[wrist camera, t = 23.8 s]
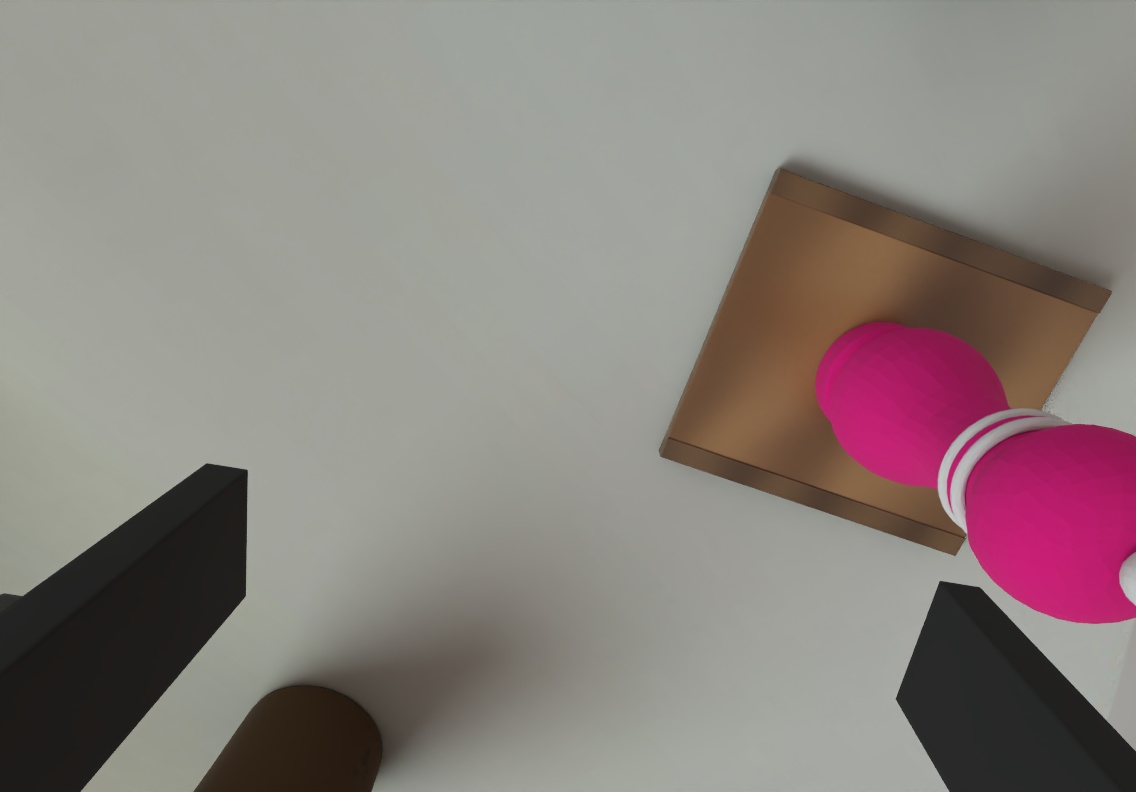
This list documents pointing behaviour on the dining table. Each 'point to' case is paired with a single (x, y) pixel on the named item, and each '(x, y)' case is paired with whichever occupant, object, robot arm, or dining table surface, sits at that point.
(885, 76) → the dining table surface
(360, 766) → the brown labeled bottle
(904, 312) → the square wooden board
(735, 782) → the dining table surface
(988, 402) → the pepper mill
